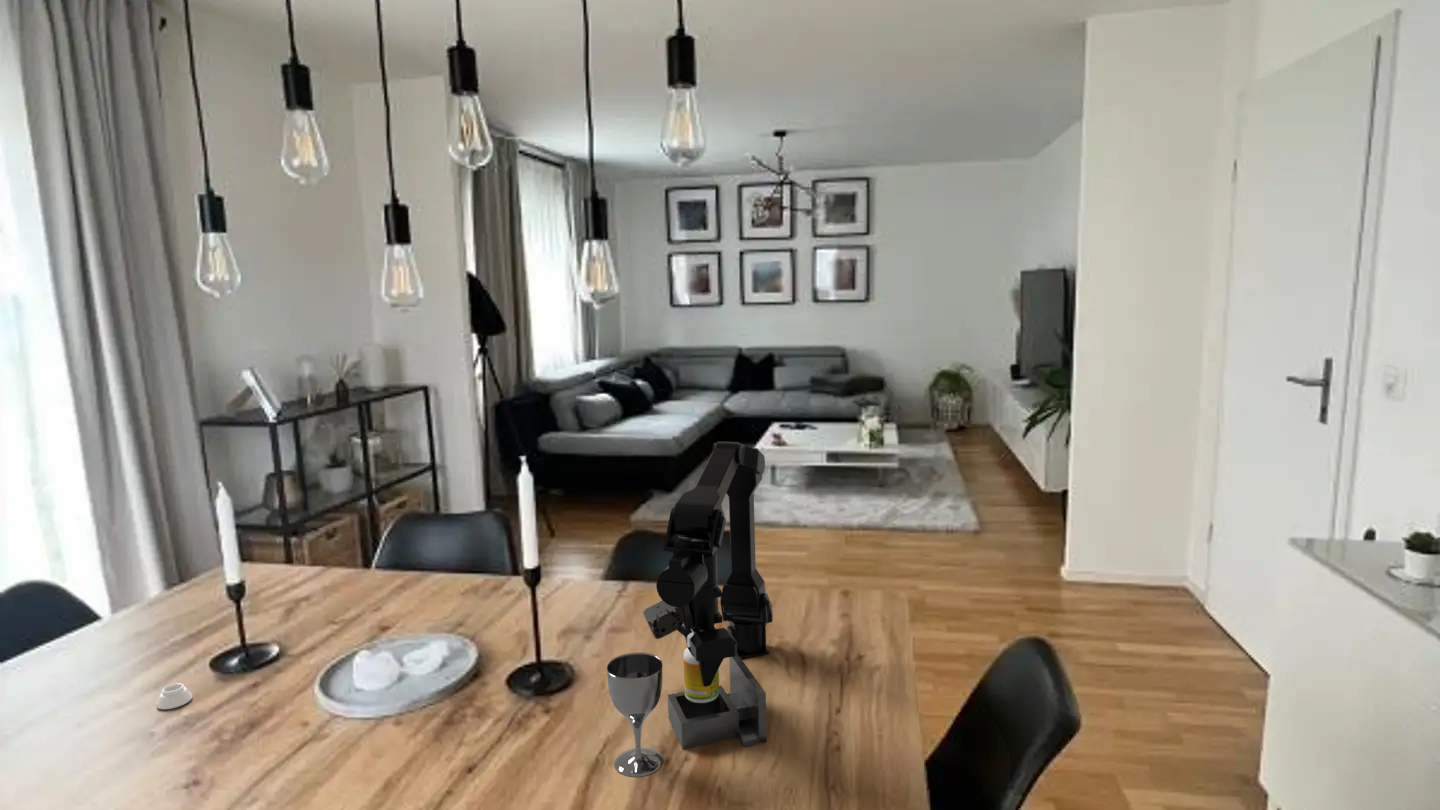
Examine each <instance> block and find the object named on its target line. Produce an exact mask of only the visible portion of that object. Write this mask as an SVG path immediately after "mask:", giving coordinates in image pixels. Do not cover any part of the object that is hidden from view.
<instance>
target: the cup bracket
mask: <svg viewBox="0 0 1440 810" xmlns="http://www.w3.org/2000/svg"><path fill="white" fill-rule="evenodd" d="M729 685H730V686H729V690H730V691H729V693H727V692H726V691H725V689H724V687H723V686H722V685H719V695H718V697H717V698H716V699H715V700H713V701H711V702H707V703H695V702H692V701H690V700H688V699H687V698H686V696H685V691H682V692H675V693H670V694H667V712H668V716H667V717H668V721H669V722H670V724H671V727H672V729H673V732H674V733H675V735H676V738H677V739H678V743H679V744H680V747H681V748H682V750H683V749H689V748H694V747H699V746H702V745H709V744H713V743H717V742H723V741H728V740H734V739H739V741H740V742H741V744H742V746H743V747H749V746H754V745H758V744H759V745H760V744H764V743H767V693H766V691H765V689H764V688H763V686H762V685H761V684H760V682H759V681H758V680H757V679H756V678H755V676H754V674H753V673H752V671H750V669H749V667H748V666H747V665H746V663H745V662H744V660H743V658H740V657H739V655H738V654H737V655H736V656H734V657H729Z"/></svg>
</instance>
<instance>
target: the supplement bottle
mask: <svg viewBox="0 0 1440 810" xmlns="http://www.w3.org/2000/svg"><path fill="white" fill-rule="evenodd" d="M693 635H694V634H693V632H692V633H690V634H689V635H688V637H687V643H686V646H687V645H688V647H690V638H691V637H692V636H693ZM688 647H686V648H685V650H684V651H683V681H684V682H683V683H684V685H683V686H684V688H683V690H684V692H685V696H686V698H687V699H688V700H690V701H692V702H695V703H707V702H711V701H713V700H715V699H716V698H717V697H718V695H719V686H720V679H719V676H720V673H719V670H720V669H718V671H717V673H716V675H715V677H714V679H713V681H712V683H711V685H710V686H706V687H705V686H704V685H703V682H702V678H701V673H700V668H699V663H698V661H696V659H695V658H694V657H693V656H692V655H691V653H690V651H689V650H688Z"/></svg>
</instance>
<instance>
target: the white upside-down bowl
mask: <svg viewBox="0 0 1440 810" xmlns="http://www.w3.org/2000/svg"><path fill="white" fill-rule="evenodd" d="M192 698H193V694H192V693H191V691H189V689H188V687H186V686H184V683H179V682H178V683H172V684H169V685H167V686H165V687H163V688H162V689H161V693H160V694H159V697H158V699H157V701H156V704H155V706H156V708H157V709H159V710H171V709H177V708H179V707H182V706H184V705H185V704H188V703H189V702H190V701H191V700H192Z"/></svg>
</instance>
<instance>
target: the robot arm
mask: <svg viewBox="0 0 1440 810" xmlns="http://www.w3.org/2000/svg"><path fill="white" fill-rule="evenodd" d="M765 458H766V457H765V455H764V454H763V453H762V452H761V451H760V450H759V449H758V448H757V447H750V446H746V445H744V444H743V443H740V442H739V441H717V442H714V443H713V444H712V446H711V455H710V456H709V459H708V460H707V463H706V465H705V467H704V469H703V471H702V472H701V475H700V476H699V479H698V481H697V483H696V485H695V487H694V488H693V489H691V490H688V491H686V492H683V494H681V496H680V497H679V499H678V500H677V502H675V504H674V505H673V507H672V508H671V510H670V513H669V518H668V523H667V529H666V533H665V539H664V545H663V548H662V549H663V552H665V553H672V554H673V555H672V557H670V558H669V559H668V566H667V567H666V568H665V569H664V570H663V571H661V572H660V574H659V576H658V577H657V580H656V584H655V585H656V592H657V594H658V596H659V597H660V599H661V600H660V601H659V602H656V603H655V604H653V605H651V606H649V607H647V608H645V609H644V610H643V612H642V613H643V616H644V618H645V620H646V622H647V624H648V628H649V630H650V632H651V634H652V636H653V637H654V639H656V640H657V639H658V640H659V639H662V638H664V637H666V636H668V635H670V634H672V633H674V632H676V631H678V633H680V634H681V635H682V636H683V637H684V640H685V643H686V646H687V647H688V645H687V637H688V635H689V634H690V633H692V632H693V634H694V635H693V636H692V637H691V638H690V647H688V650H689V651H690V653H691V655H692V656H693V657H694V658H695V659H696V661H698V663H699V668H700V673H701V678H702V682H703V685H704V686H705V687H706V686H710V685H711V683H712V681H713V679H714V677H715V675H716V673H717V671H718V669H719V668H720V666H721V664H722V663H723V660H724V659H728V658H730V657H734V656H736V655H737V654H738V655H739V657H740V658H741V659H746V658H750V657H752V658H753V657H757V656H764V655H769V654H770V650H769V648H768V647H767V629H766V627H767V624H769V623H773V622H774V620H773V619H774V618H773V616H774V614H773V603H772V602H771V600H770V597H769V594H768V593H767V592H766V583H765V580H764V578H763V577H762V576H761V574H760V573H759V571H758V570H757V567H756V566H757V565H756V563H757V562H756V561H757V560H756V535H755V534H756V531H755V530H756V529H755V528H756V527H755V525H756V523H755V492H756V491H757V489H758V487H759V485H760V484H761V481H762V480H763V474H764V473H765V469H766V459H765ZM726 495H727V497H728V503H729V504H728V509H729V511H728V512H729V513H728V514H729V518H728V519H729V540H730V541H729V548H730V574H729V576H728V578H727V580H726V581H725V583H724V584H723V586H722V589H721V588H720V587H719V585H718V583H719V582H718V580H719V579H718V553H717V551H718V548H721V546H722V541H723V538H724V534H725V533H724V532H725V530H726V529H725V528H726V523H727V518H726V517H725V513H724V511H723V505H722V504H723V502H724V499H725V497H726ZM676 536H677V538H679V539H676ZM680 539H681V540H680ZM682 539H684V540H682ZM685 539H689V540H685ZM719 598H720V603H719ZM719 604H720V608H721V609H720V611H721V612H720V611H719ZM723 622H729V626H728V625H727V627H726V628H725V627H722V628H721V627H720V628H716V627H715V625H717V624H721V623H723ZM687 647H686V648H687ZM719 670H720V669H719Z"/></svg>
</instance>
